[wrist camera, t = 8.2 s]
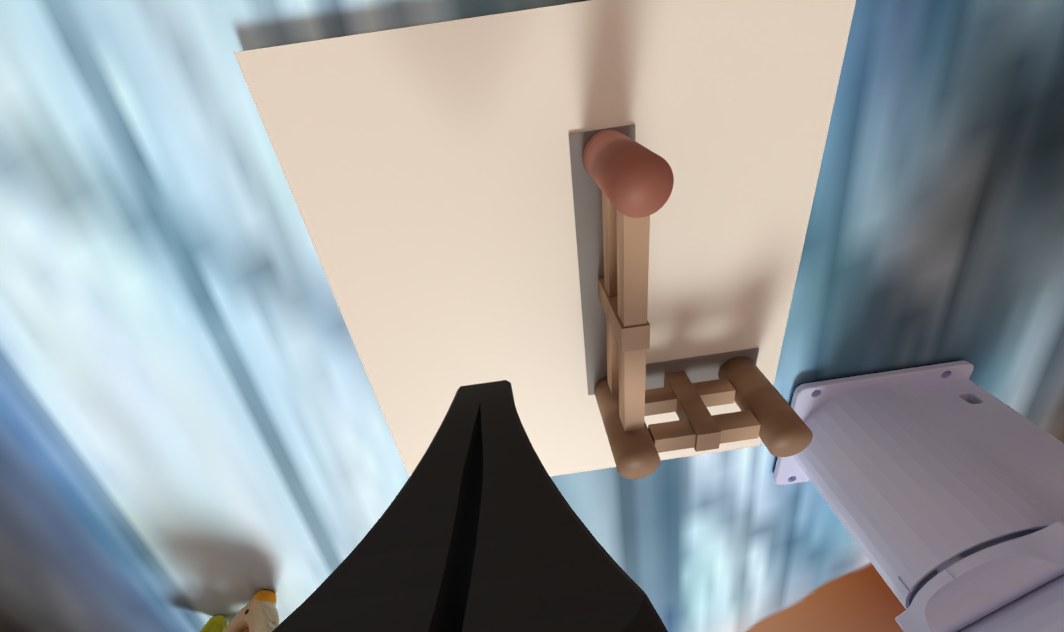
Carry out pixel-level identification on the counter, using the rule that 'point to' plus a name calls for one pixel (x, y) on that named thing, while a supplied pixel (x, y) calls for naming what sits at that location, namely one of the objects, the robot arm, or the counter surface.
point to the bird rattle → (249, 616)
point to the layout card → (554, 196)
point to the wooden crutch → (626, 257)
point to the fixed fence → (703, 417)
